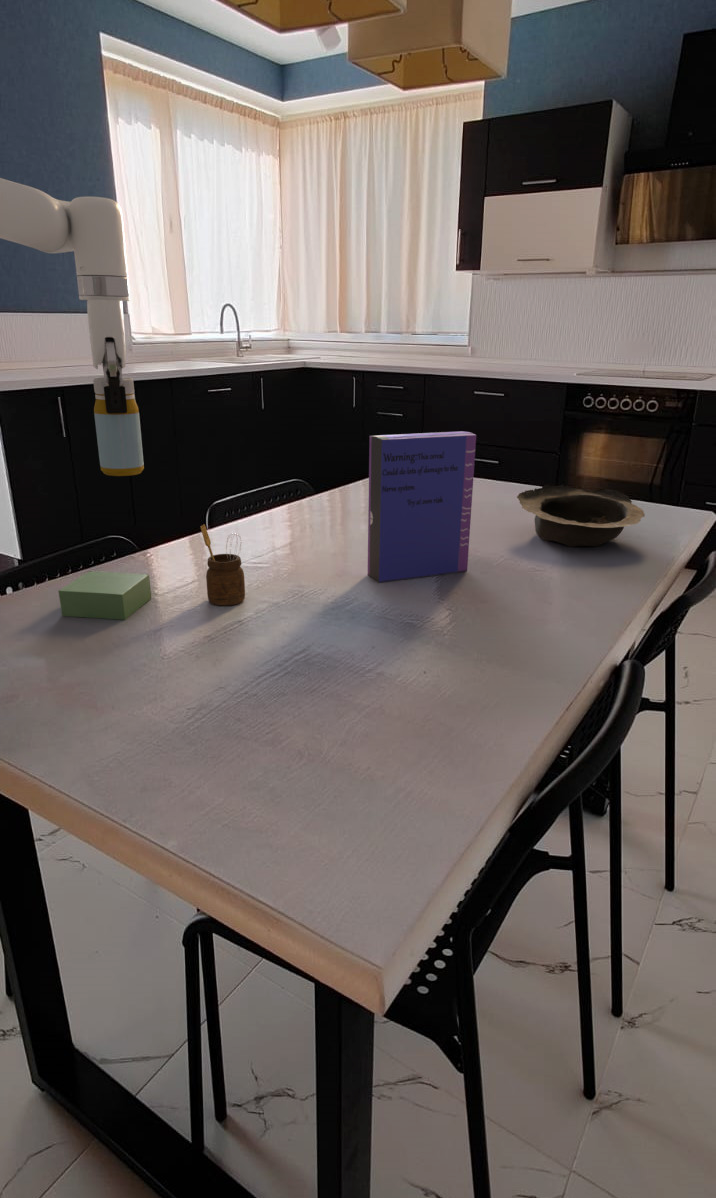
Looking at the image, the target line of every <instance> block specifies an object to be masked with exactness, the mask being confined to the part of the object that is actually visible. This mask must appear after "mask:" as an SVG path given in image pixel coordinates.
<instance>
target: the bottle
mask: <svg viewBox="0 0 716 1198" xmlns="http://www.w3.org/2000/svg"><path fill="white" fill-rule="evenodd" d="M122 378H123V387H124V386H125V393H126V403H127V413H111V414H109V413H107V412H106V404H105V395H104V387H105V379H104V377H94V378H93V380H92V382H93V390H94V393H95V395H94V396H95V402H94V406H93V415H94V422H95V423H94V424H95V433H96V440H97V449H98V458H99V467H100V471H101V472H102V473H103V474H104V475H105V476H111V477H128V476H137V475H140V474H141V473H142V472H143V471H144V469H145V463H144V453H143V441H142V431H141V430H142V429H141V419H140V418H141V417H140V412H139V406H138V404H137V402H136V399H135V398H136V397H135V396H136V395H135V394H134V393H135V383H134V378H133V377H124V376H122ZM108 385H109V384H108Z"/></svg>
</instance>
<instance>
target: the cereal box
mask: <svg viewBox="0 0 716 1198" xmlns="http://www.w3.org/2000/svg"><path fill="white" fill-rule="evenodd" d="M368 441H369V443H368V444H369V449H368V451H369V452H368V454H369V455H368V513H367V515H368V517H367V520H368V521H367V532H368V533H367V576H368V577H369V578H371V579H373V580H374V581H376V582H377V583H378V584H380V583H387V582H395V581H404V580H412V579H419V578H428V577H435V576H444V575H450V574H459V573H466V572H468V563H469V549H470V535H471V521H472V519H471V518H472V505H473V491H474V490H473V489H474V478H475V477H474V475H475V462H476V461H475V460H476V448H477V447H476V445H477V434H475V433H473V432H470V431H462V430H461V431H441V432H440V431H439V432H422V433H421V432H420V433H419V432H418V433H401V434H400V433H399V434H379V435H369V440H368Z"/></svg>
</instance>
